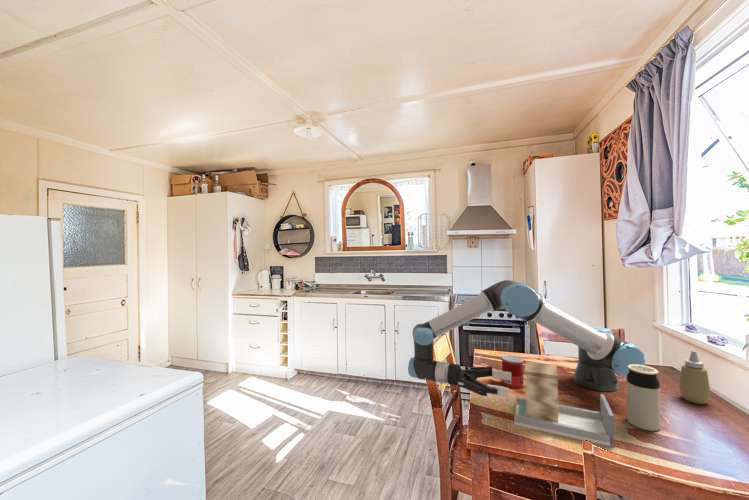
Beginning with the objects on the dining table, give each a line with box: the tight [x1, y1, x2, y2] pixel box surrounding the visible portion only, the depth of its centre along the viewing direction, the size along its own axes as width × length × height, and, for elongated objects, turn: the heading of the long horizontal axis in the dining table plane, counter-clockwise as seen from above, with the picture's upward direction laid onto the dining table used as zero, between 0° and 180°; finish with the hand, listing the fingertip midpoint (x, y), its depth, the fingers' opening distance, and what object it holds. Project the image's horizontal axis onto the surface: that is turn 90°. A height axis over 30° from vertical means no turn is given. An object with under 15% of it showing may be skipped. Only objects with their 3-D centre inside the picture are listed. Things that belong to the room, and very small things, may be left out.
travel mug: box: [626, 364, 661, 432], centre depth 98 cm, size 8×8×18 cm
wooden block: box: [524, 360, 560, 423], centre depth 102 cm, size 9×9×16 cm
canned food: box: [501, 354, 524, 389], centre depth 128 cm, size 8×8×11 cm
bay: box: [513, 393, 615, 448], centre depth 100 cm, size 26×14×9 cm, turn 63°
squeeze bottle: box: [678, 350, 711, 405], centre depth 113 cm, size 8×8×18 cm
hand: (510, 384), depth 106 cm, fingers open, 13 cm apart
